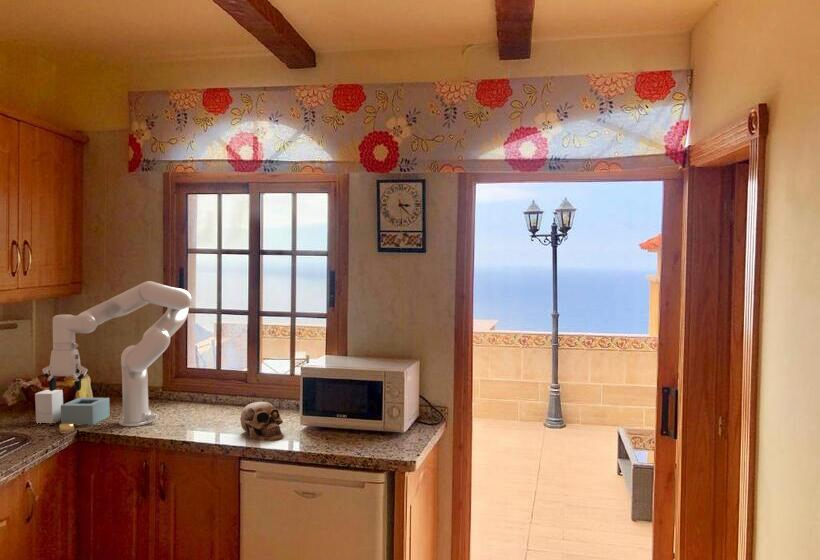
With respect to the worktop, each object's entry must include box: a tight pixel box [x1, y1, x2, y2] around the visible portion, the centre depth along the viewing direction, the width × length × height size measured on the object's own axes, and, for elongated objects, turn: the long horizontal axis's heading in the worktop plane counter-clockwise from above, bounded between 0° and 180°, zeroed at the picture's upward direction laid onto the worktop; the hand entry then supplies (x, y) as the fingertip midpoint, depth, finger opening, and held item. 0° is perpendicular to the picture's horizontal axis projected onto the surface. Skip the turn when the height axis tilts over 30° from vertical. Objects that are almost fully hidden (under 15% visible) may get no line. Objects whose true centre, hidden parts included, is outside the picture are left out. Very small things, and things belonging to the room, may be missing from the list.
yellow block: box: [58, 422, 75, 433], centre depth 240 cm, size 5×5×3 cm
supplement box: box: [34, 389, 64, 425], centre depth 254 cm, size 7×7×13 cm
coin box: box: [60, 397, 111, 426], centre depth 255 cm, size 13×13×8 cm
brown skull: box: [240, 401, 284, 442], centre depth 236 cm, size 16×17×13 cm
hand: (65, 390), depth 240 cm, fingers open, 9 cm apart
